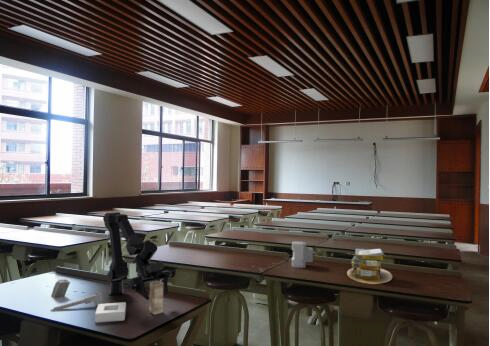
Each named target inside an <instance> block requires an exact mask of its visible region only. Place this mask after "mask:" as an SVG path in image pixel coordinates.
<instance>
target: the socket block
mask: <svg viewBox="0 0 490 346" xmlns="http://www.w3.org/2000/svg"><path fill="white" fill-rule="evenodd" d="M97 304H98V306H96V311H95V313H94V323H96V324H97V323H107V322H108V323H109V322H120V321H125V319H126V312H127V303H126V301H125V302H123V301H122V302H112V303H111V302H108V303H102V304H100V303H97Z"/></svg>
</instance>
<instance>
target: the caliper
mask: <svg viewBox="0 0 490 346" xmlns="http://www.w3.org/2000/svg"><path fill="white" fill-rule="evenodd" d="M98 300H99V303H98ZM92 302H93V303H94V304H95V306H96V307H98V304H103V296H102V293H100V291H97V292H95V294H93V295H90V296H87V297H84V298H82V299H80V300H76V301H72V302H69V303H65V304H61V305H57V306H55V307H53V308H51V309H50V312H52V311H54V312H55V310H57V311H61V310H64V309H68V308H72V307H75V306H78V305H82V304H85V305H88V304H91V303H92Z"/></svg>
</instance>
